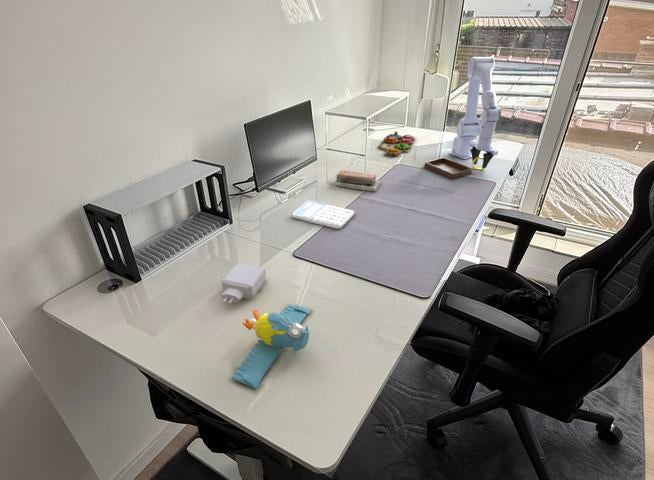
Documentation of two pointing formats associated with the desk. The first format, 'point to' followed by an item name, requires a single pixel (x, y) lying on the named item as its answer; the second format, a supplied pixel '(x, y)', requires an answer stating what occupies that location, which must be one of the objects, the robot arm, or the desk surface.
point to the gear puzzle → (397, 143)
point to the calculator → (323, 214)
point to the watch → (475, 160)
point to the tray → (448, 167)
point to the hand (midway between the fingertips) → (479, 166)
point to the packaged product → (357, 180)
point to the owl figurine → (272, 341)
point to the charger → (242, 282)
